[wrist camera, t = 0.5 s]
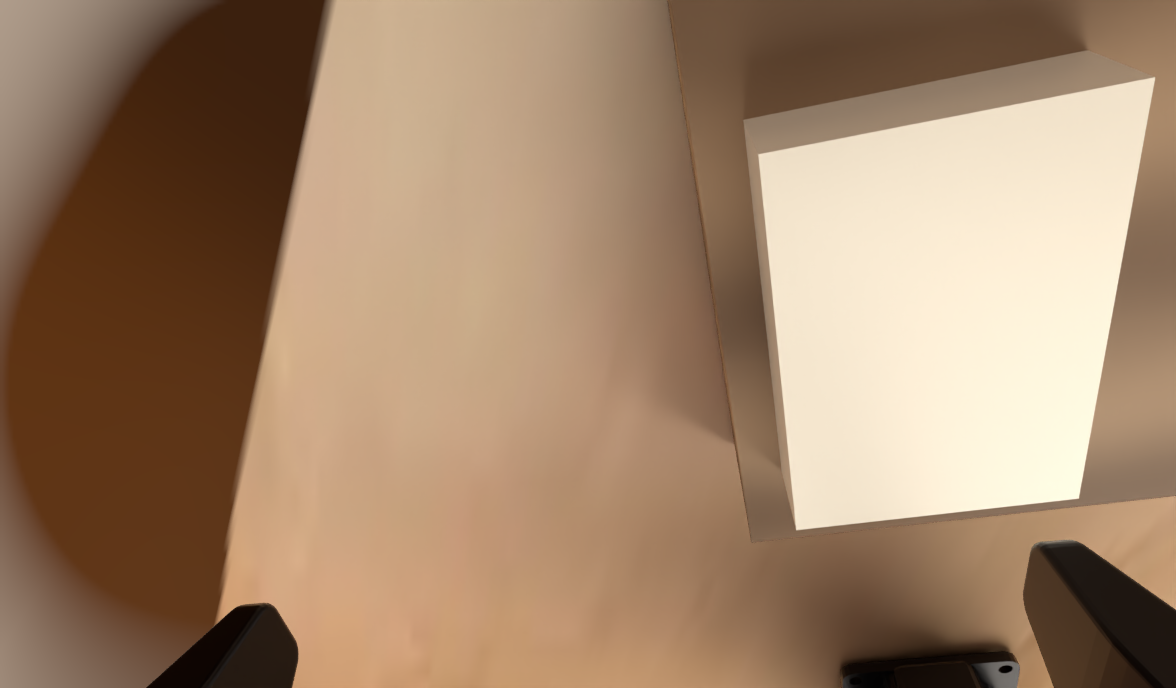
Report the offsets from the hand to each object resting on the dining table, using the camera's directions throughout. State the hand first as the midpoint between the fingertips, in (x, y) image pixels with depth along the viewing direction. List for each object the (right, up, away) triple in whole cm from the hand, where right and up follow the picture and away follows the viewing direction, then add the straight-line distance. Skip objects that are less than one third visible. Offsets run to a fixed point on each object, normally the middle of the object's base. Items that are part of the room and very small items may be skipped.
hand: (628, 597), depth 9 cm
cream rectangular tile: (+6, +4, +7) cm, 10 cm away
